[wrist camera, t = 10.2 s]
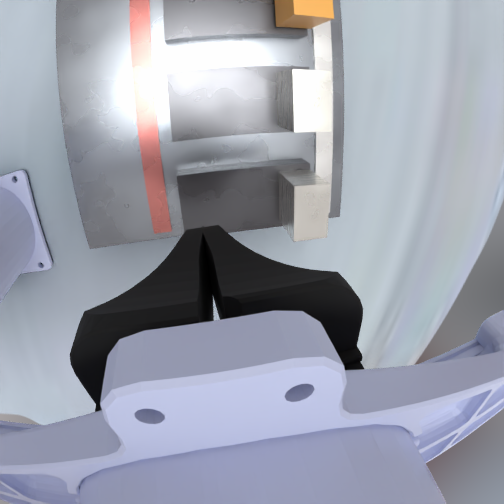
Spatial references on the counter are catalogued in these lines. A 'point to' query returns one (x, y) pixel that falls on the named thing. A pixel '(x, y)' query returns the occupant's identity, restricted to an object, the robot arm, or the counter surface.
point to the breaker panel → (116, 122)
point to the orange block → (303, 13)
